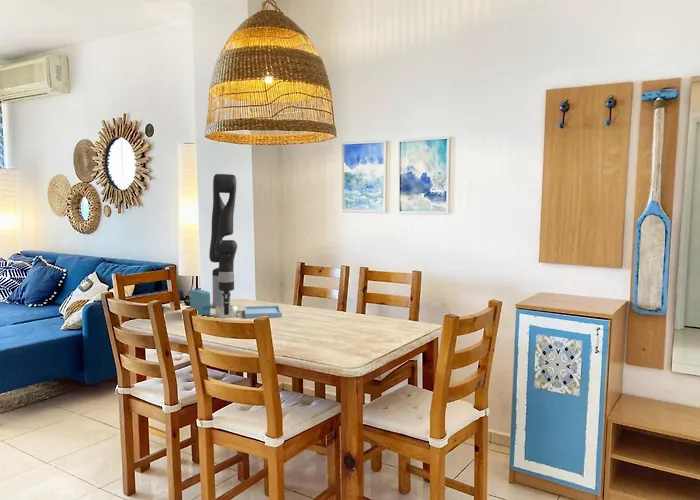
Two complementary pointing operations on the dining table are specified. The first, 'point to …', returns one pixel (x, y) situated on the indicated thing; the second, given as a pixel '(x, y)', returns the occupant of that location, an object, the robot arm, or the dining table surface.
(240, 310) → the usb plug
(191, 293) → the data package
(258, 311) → the blue tray
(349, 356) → the dining table surface
